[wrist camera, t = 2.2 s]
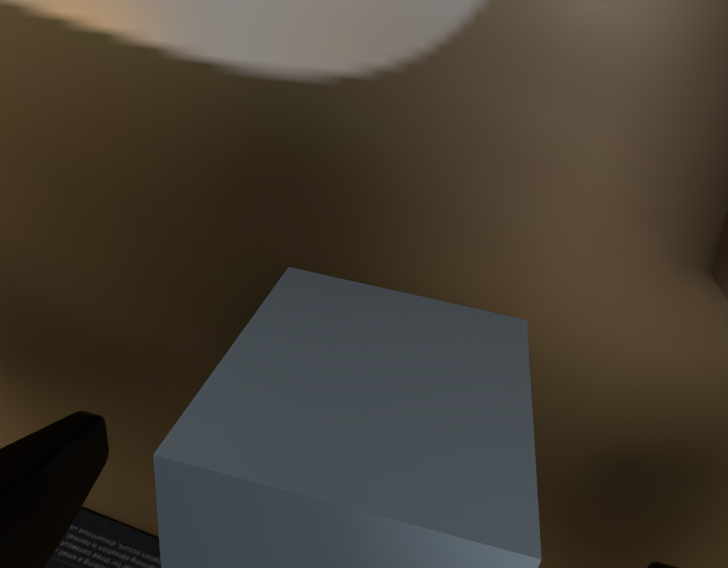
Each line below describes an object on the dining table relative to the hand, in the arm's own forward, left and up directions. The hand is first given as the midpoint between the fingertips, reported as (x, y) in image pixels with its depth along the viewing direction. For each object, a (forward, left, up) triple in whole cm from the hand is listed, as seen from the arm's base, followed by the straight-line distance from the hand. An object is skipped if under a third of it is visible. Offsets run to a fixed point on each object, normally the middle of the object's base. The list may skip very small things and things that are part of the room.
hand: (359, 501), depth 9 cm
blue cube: (0, 0, -3) cm, 3 cm away
